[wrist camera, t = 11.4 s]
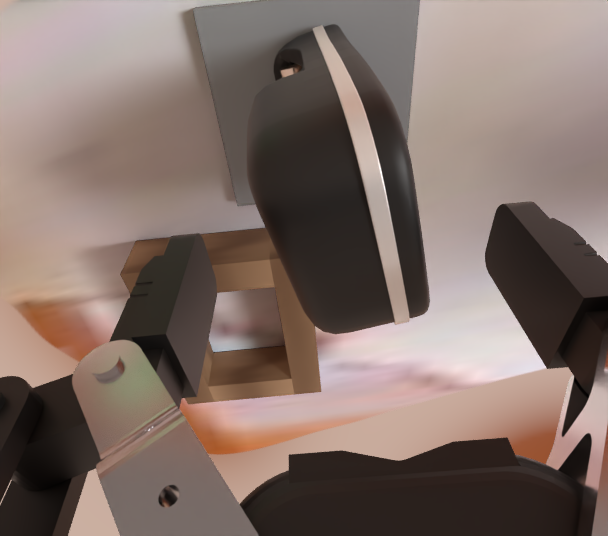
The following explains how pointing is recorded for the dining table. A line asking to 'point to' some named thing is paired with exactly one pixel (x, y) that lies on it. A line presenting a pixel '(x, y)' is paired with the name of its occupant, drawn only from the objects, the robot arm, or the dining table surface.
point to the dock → (252, 362)
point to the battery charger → (337, 186)
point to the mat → (276, 34)
